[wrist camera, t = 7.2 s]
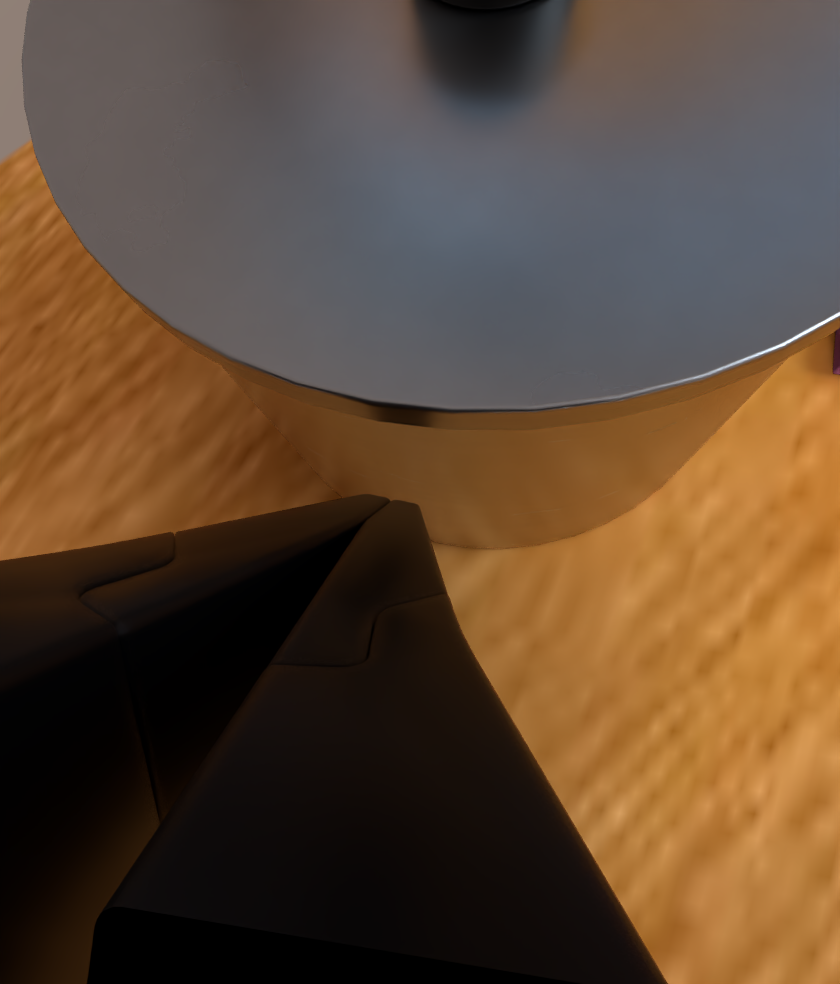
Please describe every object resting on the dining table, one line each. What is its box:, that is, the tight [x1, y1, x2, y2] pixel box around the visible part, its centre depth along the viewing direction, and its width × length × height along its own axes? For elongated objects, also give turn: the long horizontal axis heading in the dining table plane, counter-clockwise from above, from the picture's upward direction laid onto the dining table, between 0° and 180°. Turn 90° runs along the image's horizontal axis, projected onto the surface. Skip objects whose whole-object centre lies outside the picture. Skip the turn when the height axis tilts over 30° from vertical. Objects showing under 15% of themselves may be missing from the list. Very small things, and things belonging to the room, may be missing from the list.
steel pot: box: [22, 0, 840, 549], centre depth 12 cm, size 14×16×11 cm
